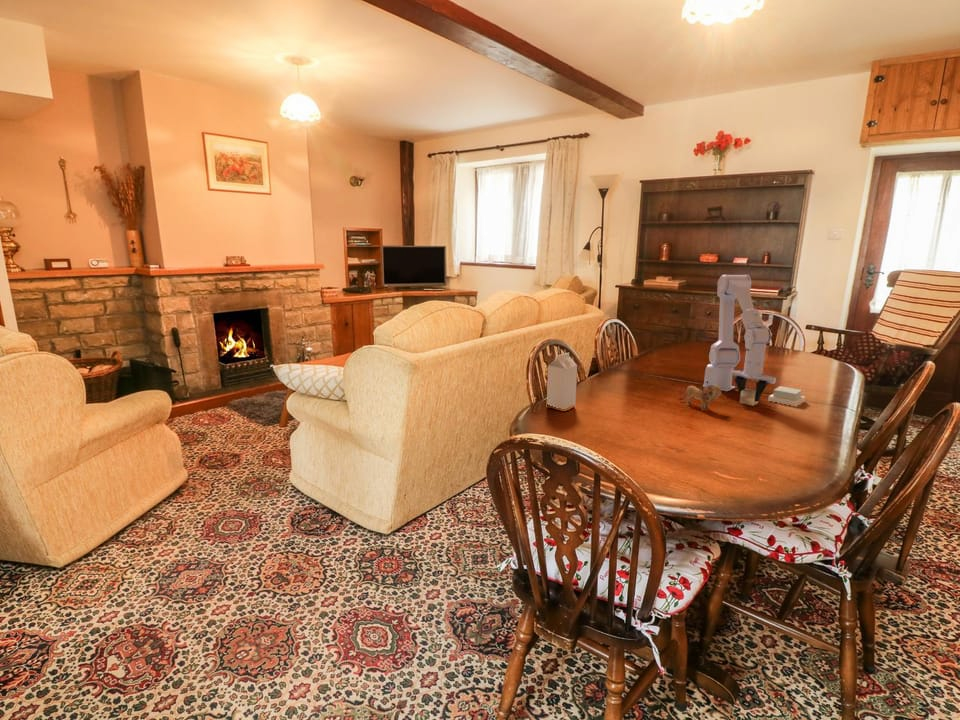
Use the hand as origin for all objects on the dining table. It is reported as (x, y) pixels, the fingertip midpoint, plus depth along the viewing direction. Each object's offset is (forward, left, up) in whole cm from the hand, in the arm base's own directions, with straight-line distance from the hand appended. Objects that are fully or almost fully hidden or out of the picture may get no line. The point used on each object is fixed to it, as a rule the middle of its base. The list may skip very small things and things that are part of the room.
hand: (749, 399), depth 175 cm
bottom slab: (+8, +13, -2) cm, 15 cm away
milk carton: (-41, -54, -2) cm, 68 cm away
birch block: (0, 0, -1) cm, 1 cm away
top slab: (+8, +13, 0) cm, 15 cm away
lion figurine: (-10, -17, -2) cm, 20 cm away
